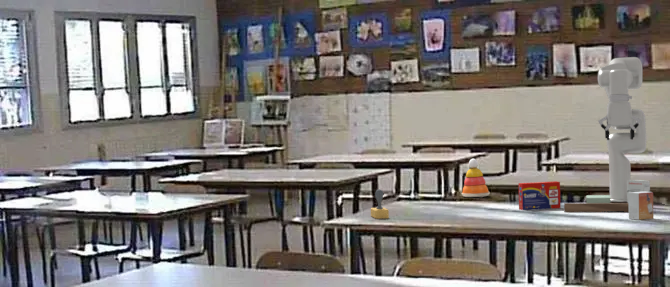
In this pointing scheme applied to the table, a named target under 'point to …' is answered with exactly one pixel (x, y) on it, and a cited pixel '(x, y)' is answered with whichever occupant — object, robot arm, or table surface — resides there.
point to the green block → (597, 198)
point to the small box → (640, 205)
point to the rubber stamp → (379, 207)
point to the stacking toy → (474, 182)
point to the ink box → (637, 186)
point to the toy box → (539, 195)
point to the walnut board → (595, 207)
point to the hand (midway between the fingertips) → (619, 139)
